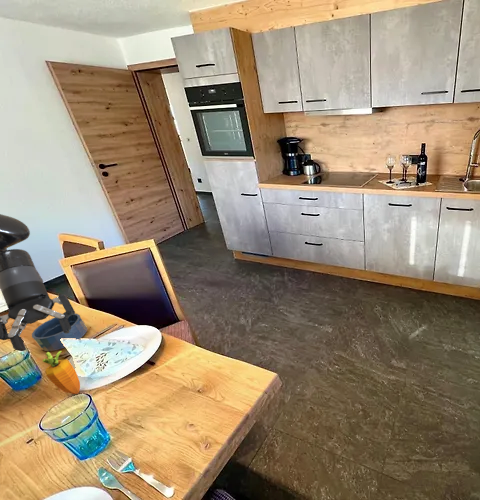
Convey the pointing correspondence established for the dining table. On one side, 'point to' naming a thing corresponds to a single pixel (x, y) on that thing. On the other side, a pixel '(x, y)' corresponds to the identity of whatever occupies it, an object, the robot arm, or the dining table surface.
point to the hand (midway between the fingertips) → (45, 341)
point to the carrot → (62, 374)
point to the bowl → (58, 332)
